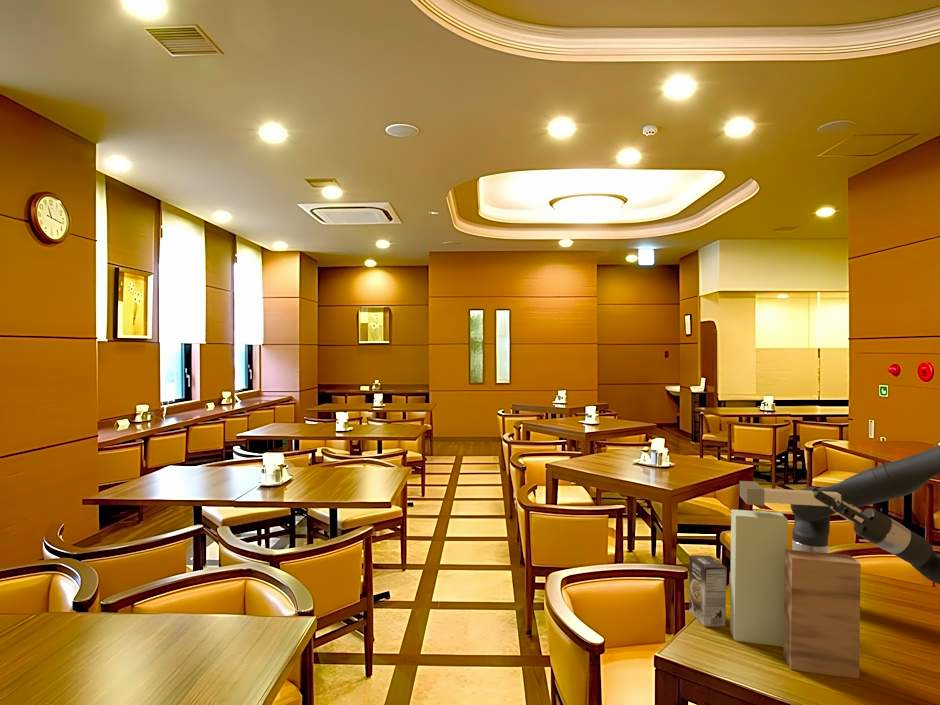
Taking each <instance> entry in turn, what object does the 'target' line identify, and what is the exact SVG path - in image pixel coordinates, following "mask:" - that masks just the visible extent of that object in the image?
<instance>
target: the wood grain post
mask: <svg viewBox="0 0 940 705" xmlns="http://www.w3.org/2000/svg"><path fill="white" fill-rule="evenodd" d="M861 567H862V566H861V563H860V562H859V561H858V560H857V559H855V558H854V557H853V556H851V555H850V554H843V553H832V552H831V553H830V552H828V553H821V552H809V551H798V550H792V549H788V550H787V549H785V557H784V644H783V650H782V651H783V655H782V656H783V658H784V660H785V662H786V664H787V667H789V669H790V670H791V671H796V672H797V671H799V672H806V673H812V674H813V673H814V674H821V675H828V676H836V677H842V678H843V677H845V678H849V679H850V678H851V679H856V680H857V679H860V653H861V652H860V651H861V650H860V649H861V648H860V647H861V646H860V644H861V643H860V640H861V639H860V638H861V634H860V633H861V631H860V630H861V571H862V570H861Z"/></svg>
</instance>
